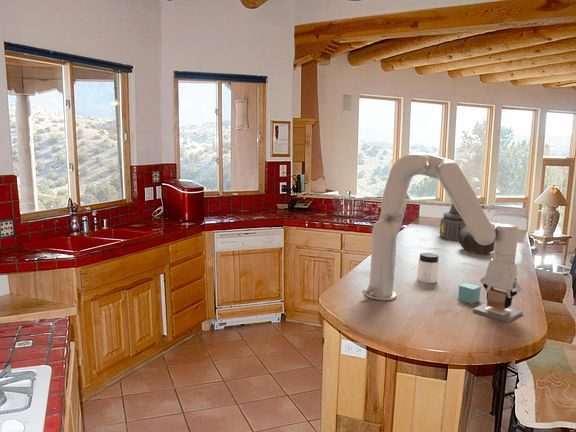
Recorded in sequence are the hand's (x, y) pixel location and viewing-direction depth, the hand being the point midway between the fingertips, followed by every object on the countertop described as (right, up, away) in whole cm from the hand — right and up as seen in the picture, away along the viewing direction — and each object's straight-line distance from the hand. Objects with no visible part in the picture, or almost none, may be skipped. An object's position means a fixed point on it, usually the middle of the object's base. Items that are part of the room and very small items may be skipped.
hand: (498, 304), depth 180 cm
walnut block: (0, -1, 0) cm, 1 cm away
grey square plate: (0, -4, +1) cm, 3 cm away
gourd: (+33, +12, +99) cm, 105 cm away
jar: (-16, +3, +39) cm, 42 cm away
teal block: (-6, -1, +14) cm, 15 cm away
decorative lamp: (+31, +18, +138) cm, 142 cm away
